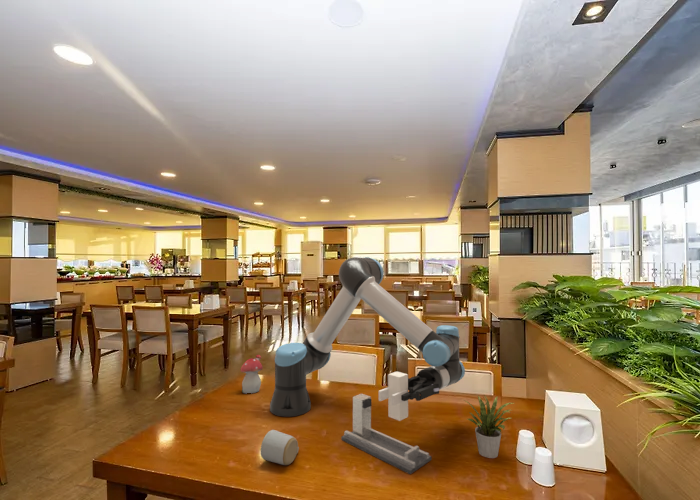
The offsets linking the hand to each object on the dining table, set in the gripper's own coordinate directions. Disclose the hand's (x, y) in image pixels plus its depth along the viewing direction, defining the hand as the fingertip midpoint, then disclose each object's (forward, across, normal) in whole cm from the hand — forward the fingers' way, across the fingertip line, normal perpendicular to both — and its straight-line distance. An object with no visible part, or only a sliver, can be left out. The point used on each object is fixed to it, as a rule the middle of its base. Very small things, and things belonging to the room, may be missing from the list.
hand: (386, 398), depth 101 cm
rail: (-5, +5, -18) cm, 19 cm away
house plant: (-25, -19, -18) cm, 36 cm away
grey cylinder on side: (+19, +22, -18) cm, 34 cm away
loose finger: (-5, 0, -7) cm, 9 cm away
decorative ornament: (-2, +76, -18) cm, 78 cm away
